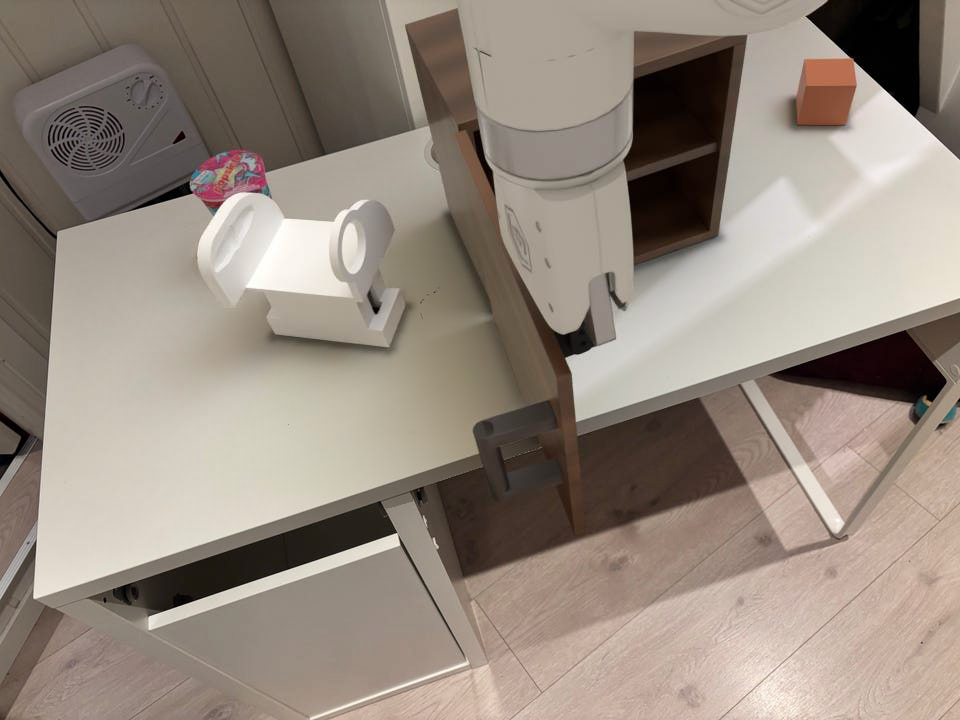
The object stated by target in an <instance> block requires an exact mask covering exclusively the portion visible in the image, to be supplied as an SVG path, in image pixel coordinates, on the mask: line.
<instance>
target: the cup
mask: <svg viewBox="0 0 960 720" xmlns="http://www.w3.org/2000/svg"><path fill="white" fill-rule="evenodd" d="M189 189H190V191H191V192H192V193H193V195H195V196H196V197H197V198H198V199H199V200H201V202H202V203H203V204H204V206H205V207H206V208H207V210H208V212H210V213H211V215H212V216H213V217H214V216H215V214H216V212H217V211H218V209H219V208H220V206H221V205H222V204H223V203H224V202H225V201H226V200H227V199H228V198H230V197H231V196H233V195H235V194H237V193H243V192H246V193H260V194H264V195H266V196H268V197H269V198H271V199H272V200H273V201H274V199H273V196H272V193H271V191H270V188H269V184H268V181H267V176H266V170H265V165H264V161H263V158H262V157H261V156H260V155H258V154H257V153H255V152H253V151H251V150H244V149H234V150H228V151H224V152H221V153H219V154H216V155H214V156H212V157H211V158H209V159H207V160H205V161H204V162H203V163H201V164H200V165H199V166H198V167H197V168H196V169H195V171H194V172H193V173H192V175H191V177H190V181H189Z"/></svg>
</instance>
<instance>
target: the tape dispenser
mask: <svg viewBox="0 0 960 720" xmlns="http://www.w3.org/2000/svg"><path fill="white" fill-rule="evenodd" d="M272 199H273V198H272ZM272 199H271V198H269V197H268V196H266V195H264V194H260V193H246V192H243V193H237V194H235V195H233V196H231V197H230V198H228V199H227V200H226V201H225V202H224V203H223V204H222V205H221V206H220V208H219V209H218V211H217V212H216V214H215V216H213V217H212V218H211V221H210V222H209V224H207V226H206V228H205V230H204V231H203V233H202V234H201V236H200V239H199V242H198V245H197V253H196V254H197V255H196V258H197V259H196V260H197V266H198V270H199V273H200V275H201V277H202V278H203V280H204V282H205V284H206V285H207V286H208V288H209V289H210V291H211V293H212V294H213V296H214V297H215V298H216V300H217V302H218V303H219V304H220V306H221V308H225V309H232V310H233V309H236V307H237V306H238V303H239V302H240V300H241V298H242V296H243V294H244V293H245V292H251V293H262V294H264V295H265V298H266V299H267V301H268V303H269V304H270V306H271V307H270V309H269V312H268V313H267V315H266V316H265V319H266V321H267V323H268V324H269V327H270V328H271V330H272V331H273V333H274V334H275V335H277V336H286V337H296V338H304V339H311V340H312V339H314V340H320V341H328V342H329V341H330V342H337V343H338V342H339V343H347V344H355V345H356V344H357V345H365V346H372V347H373V346H374V347H382V348H390V347H391V344H392V341H393V339H394V337H395V334H396V331H397V328H398V326H399V325H400V324H399V323H400V321H401V319H402V316H403V313H404V311H405V308H406V302H405V300H404V297H403V294H402V291H401V289H400V288H397V287H387V286H386V284H385V282H384V279H383V276H382V273H381V271H380V265H381V263H382V262H383V259H384V257H385V255H386V252H387V249H388V248H389V245H390V242H391V240H392V238H393V235H394V233H395V231H396V229H395V226H394V223H393V219H392V217H391V215H390V212H389V210H388V209H387V208H386V206H385V205H383V203H382V202H380V201H378V200H376V199H360V200H357V201H356V202H355V203H354V204H353V205H352V206H351V207H349V208H348V209H347V208H346V209H342V210H341V211H340V212H338V214H337V215H336V217H335V219H334V221H329V220H327V221H326V220H313V219H312V220H311V219H300V218H299V219H296V218H285V215H284V214H283V211H282V210H281V209H280V207H279V205H278V204H277V203H276V202H275V201H274V199H273V200H272ZM373 308H379V310H378V311H377V314H376V313H375V312H374V310H373Z"/></svg>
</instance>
